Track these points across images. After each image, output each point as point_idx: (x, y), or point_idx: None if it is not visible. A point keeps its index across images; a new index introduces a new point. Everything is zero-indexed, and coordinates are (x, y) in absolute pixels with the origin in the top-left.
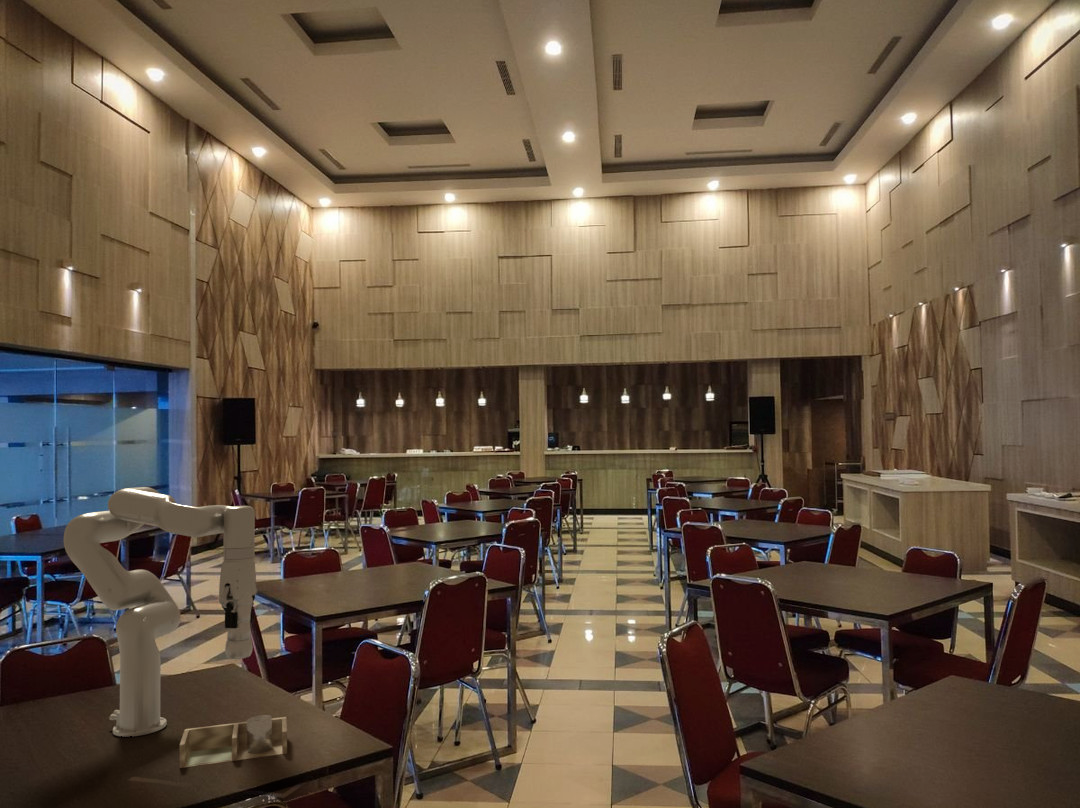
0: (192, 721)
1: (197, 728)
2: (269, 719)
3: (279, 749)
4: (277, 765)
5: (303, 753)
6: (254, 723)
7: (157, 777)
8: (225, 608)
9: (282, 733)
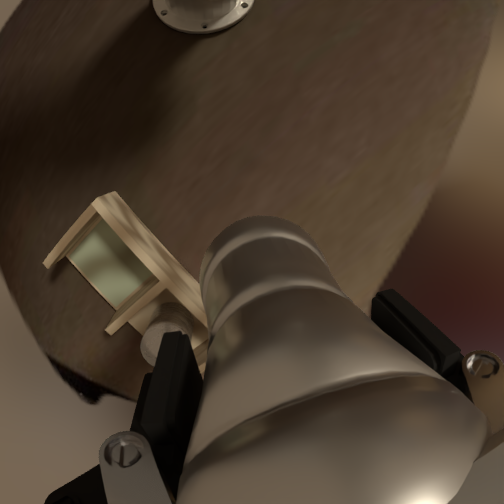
0: (276, 54)
1: (110, 221)
2: None
3: None
4: (148, 369)
5: None
6: (143, 355)
7: (38, 233)
8: (88, 492)
9: None
